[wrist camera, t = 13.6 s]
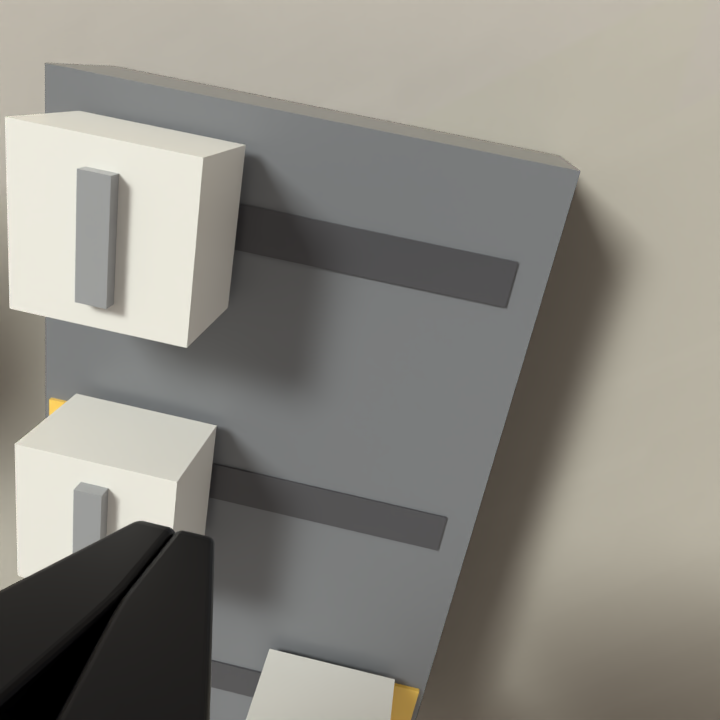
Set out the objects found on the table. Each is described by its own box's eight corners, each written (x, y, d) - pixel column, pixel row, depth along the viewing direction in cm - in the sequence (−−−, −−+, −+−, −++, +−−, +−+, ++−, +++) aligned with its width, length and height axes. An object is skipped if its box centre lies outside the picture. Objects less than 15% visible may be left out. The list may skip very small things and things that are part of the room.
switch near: (228, 307, 15) (180, 353, 13) (77, 274, 15) (-1, 313, 13) (245, 144, 14) (196, 159, 11) (79, 110, 14) (-6, 118, 11)
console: (404, 698, 23) (397, 784, 20) (93, 621, 24) (44, 695, 21) (560, 155, 16) (581, 171, 13) (112, 66, 17) (42, 62, 14)
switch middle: (203, 542, 18) (160, 621, 15) (73, 512, 18) (9, 584, 15) (216, 425, 16) (171, 489, 14) (76, 393, 17) (5, 451, 14)
